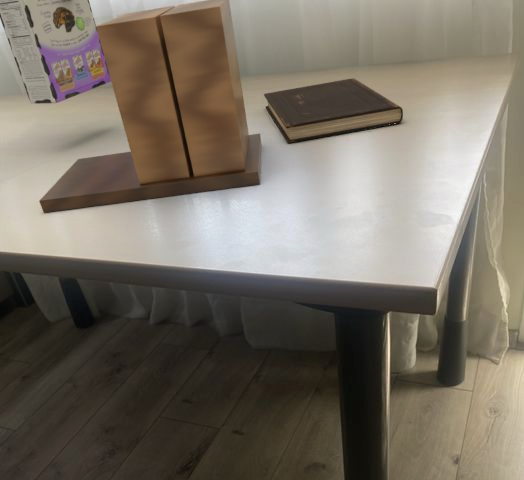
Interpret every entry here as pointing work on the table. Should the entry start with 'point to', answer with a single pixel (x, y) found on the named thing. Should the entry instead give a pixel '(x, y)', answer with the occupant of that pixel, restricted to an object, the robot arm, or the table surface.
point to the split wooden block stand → (169, 111)
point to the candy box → (54, 47)
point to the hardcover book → (330, 110)
